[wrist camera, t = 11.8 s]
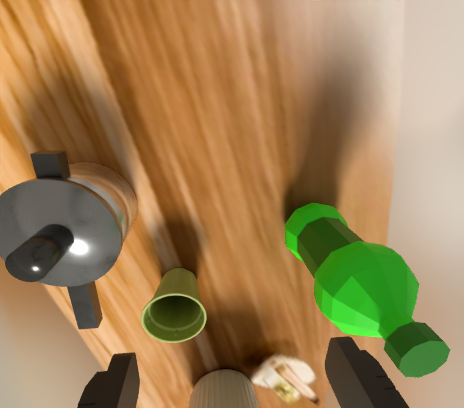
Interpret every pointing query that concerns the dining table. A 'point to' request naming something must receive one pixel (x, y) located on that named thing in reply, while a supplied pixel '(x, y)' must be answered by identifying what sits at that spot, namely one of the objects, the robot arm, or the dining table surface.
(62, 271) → the lid
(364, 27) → the dining table surface
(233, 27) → the dining table surface
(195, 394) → the canister
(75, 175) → the cooker pot
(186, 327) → the plant pot
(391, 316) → the plastic bottle
